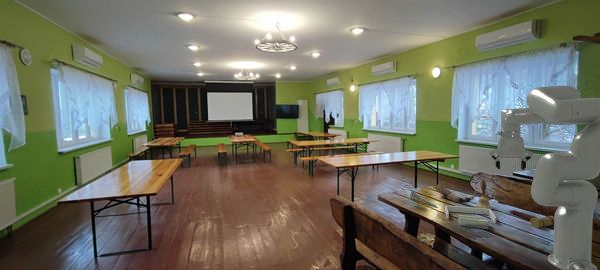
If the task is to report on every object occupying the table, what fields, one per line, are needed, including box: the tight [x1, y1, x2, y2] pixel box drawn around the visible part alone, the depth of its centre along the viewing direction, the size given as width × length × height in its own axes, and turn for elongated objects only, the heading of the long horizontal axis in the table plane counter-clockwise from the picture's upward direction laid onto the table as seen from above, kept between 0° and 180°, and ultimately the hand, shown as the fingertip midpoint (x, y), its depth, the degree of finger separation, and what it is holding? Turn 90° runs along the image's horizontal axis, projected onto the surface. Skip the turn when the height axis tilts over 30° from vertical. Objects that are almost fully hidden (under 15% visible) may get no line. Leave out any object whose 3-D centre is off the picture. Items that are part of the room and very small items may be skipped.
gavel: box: [508, 209, 554, 229], centre depth 138 cm, size 21×5×10 cm
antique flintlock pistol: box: [434, 182, 479, 204], centre depth 168 cm, size 6×30×10 cm, turn 18°
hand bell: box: [475, 179, 493, 210], centre depth 156 cm, size 8×8×16 cm
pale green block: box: [457, 214, 489, 230], centre depth 134 cm, size 5×12×4 cm, turn 63°
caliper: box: [410, 190, 439, 209], centre depth 169 cm, size 20×1×6 cm, turn 23°
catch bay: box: [444, 204, 497, 224], centre depth 145 cm, size 13×22×3 cm, turn 66°
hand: (510, 169), depth 133 cm, fingers open, 9 cm apart
